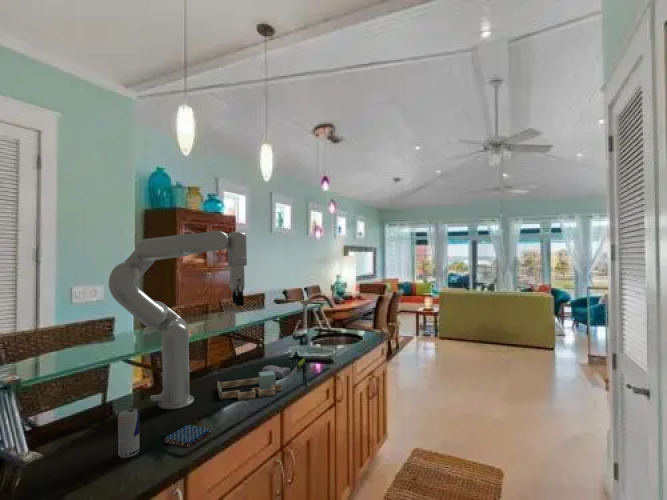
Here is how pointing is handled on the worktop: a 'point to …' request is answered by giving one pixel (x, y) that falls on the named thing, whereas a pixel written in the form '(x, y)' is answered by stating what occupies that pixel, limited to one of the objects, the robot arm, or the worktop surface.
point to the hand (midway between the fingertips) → (238, 304)
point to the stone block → (277, 371)
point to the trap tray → (245, 394)
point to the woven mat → (187, 435)
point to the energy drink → (128, 433)
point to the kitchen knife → (297, 367)
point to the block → (266, 379)
